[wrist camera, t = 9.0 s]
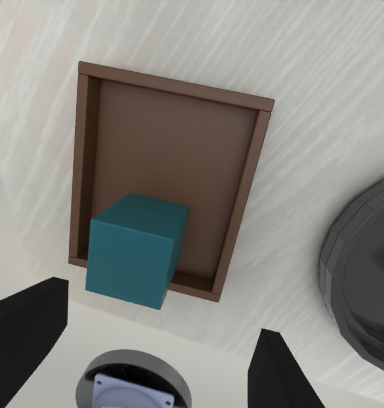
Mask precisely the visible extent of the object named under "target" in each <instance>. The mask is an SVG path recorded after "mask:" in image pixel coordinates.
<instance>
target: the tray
mask: <svg viewBox="0 0 384 408" xmlns="http://www.w3.org/2000/svg"><path fill="white" fill-rule="evenodd" d="M78 73H79V74H78V86H77V105H76V125H75V144H74V163H73V183H72V202H71V222H70V241H69V260H68V263H69V264H73V265H76V266H80V267H84V268H87V263H88V250H89V237H90V224H91V219H92V218H94V217H95V216H97V215H98V214H100V213H101V212H103V211H104V210H106V209H107V208H109V207H110V206H111V205H113V204H114V203H116V202H117V201H119V200H120V199H122V198H123V197H125V196H126V195H128V194H129V193H133V194H138V195H142V196H146V197H150V198H155V199H159V200H163V201H167V202H172V203H176V204H180V205H184V206H189V207H190V210H189V215H188V220H187V225H186V230H185V234H184V239H183V244H182V249H181V254H180V259H179V262H178V265H177V267H176V270H175V273H174V275H173V278H172V281H171V283H170V286H169V288H168V290H172V291H176V292H180V293H183V294H187V295H191V296H195V297H199V298H203V299H206V300H210V301H214V302H219V300H220V296H221V293H222V289H223V285H224V282H225V278H226V275H227V271H228V267H229V264H230V260H231V257H232V253H233V249H234V246H235V242H236V239H237V235H238V231H239V228H240V224H241V221H242V217H243V213H244V210H245V206H246V203H247V199H248V195H249V192H250V188H251V185H252V181H253V177H254V174H255V170H256V167H257V163H258V159H259V156H260V152H261V149H262V145H263V141H264V138H265V134H266V131H267V127H268V123H269V120H270V116H271V112H272V109H273V105H274V102H275V100H274V99H270V98H264V97H259V96H254V95H249V94H244V93H239V92H234V91H229V90H224V89H219V88H214V87H209V86H204V85H199V84H194V83H189V82H184V81H179V80H173V79H168V78H163V77H158V76H153V75H148V74H143V73H138V72H133V71H128V70H123V69H118V68H113V67H108V66H103V65H98V64H93V63H88V62H82V61H79V65H78Z"/></svg>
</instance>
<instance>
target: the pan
mask: <svg viewBox="0 0 384 408" xmlns="http://www.w3.org/2000/svg"><path fill="white" fill-rule="evenodd" d="M319 285H320V289H321V292H322V295H323V297H324V300H325V303H326V305H327V308H328V310H329V312H330V314H331V316H332V318H333V320H334V322H335V324H336V326H337V328H338V330H339V332H340V334H341V335H342V336H343V337H344V339H345V340H346V341H347V342H348V343H349V344H350V345H351V346H352V348H353V349H354V350H355V351H356V352H357V353H358V354H359V355H360V356H361V357H362V358H363V359H365V360H366V361H368V362H370V363H371V364H373V365H375V366H377V367H378V368H380V369H382V370H384V180H383V181H381V182H380V183H378V184H377V185H375V186H374V187H372V188H371V189H370V190H368V191H367V192H365V193H364V194H362V195H361V196H359V197H358V198H357V199H355V200H354V201H353V202H352V203H351V205H350V206H349V207H348V208H347V209H346V211H345V212H344V213H343V214H342V215H341V217H340V218H339V219H338V220H337V221H336V223H335V224H334V225H333V226H332V228H331V231H330V233H329V236H328V238H327V241H326V243H325V246H324V248H323V251H322V253H321V256H320V276H319Z"/></svg>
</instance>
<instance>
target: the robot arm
mask: <svg viewBox="0 0 384 408" xmlns="http://www.w3.org/2000/svg"><path fill="white" fill-rule="evenodd" d="M68 285H69V281H68V280H64V279H60V278H56V277H52V278H49V279H47V280H44V281H42V282H40V283H38V284H36V285H33V286H31V287H29V288H27V289H25V290H23V291H20V292H18V293H16V294H14V295H11V296H9V297H7V298H5V299H3V300H0V408H5V407H6V406H7V404H8V403H9V402H10V401H11V399H12V398H13V397H14V396H15V394H16V393H17V392H18V391H19V389H20V388H21V387H22V386H23V385H24V383H25V382H26V381H27V380H28V378H29V377H30V376H31V375H32V374H33V372H34V371H35V370H36V369H37V367H38V366H39V365H40V364H41V362H42V361H43V360H44V359H45V357H46V356H47V355H48V353H49V352H50V351H51V349H52V348H53V346H54V345H55V343H56V342H57V340H58V339H59V337H60V335H61V334H62V332H63V331H64V329H65V327H66V326H67V318H68ZM174 398H175V396H174V394H173V393H171V392H167V391H164V390H160V389H157V388H154V387H150V386H147V385H143V384H140V383H136V382H133V381H130V380H126V379H123V378H119V377H116V376H113V375H109V374H106V373H102V372H98V373H97V374H96V376H95V381H94V391H93V400H92V408H172V407H173V403H174ZM248 408H325V407H324V405H323V404H322V402H321V400H320V399H319V397H318V396H317V394H316V393H315V391H314V389H313V388H312V386H311V385H310V383H309V381H308V380H307V378H306V377H305V375H304V373H303V372H302V370H301V368H300V367H299V365H298V363H297V362H296V360H295V358H294V356H293V355H292V353H291V351H290V350H289V348H288V346H287V344H286V343H285V341H284V339H283V338H282V336H281V334H280V333H279V332H275V331H271V330H267V329H263V328H262V329H261V332H260V336H259V339H258V342H257V345H256V348H255V351H254V354H253V357H252V360H251V363H250V366H249V369H248Z"/></svg>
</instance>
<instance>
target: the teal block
mask: <svg viewBox="0 0 384 408" xmlns="http://www.w3.org/2000/svg"><path fill="white" fill-rule="evenodd" d="M189 210H190V207H189V206H184V205H180V204H176V203H172V202H167V201H163V200H159V199H155V198H150V197H146V196H142V195H138V194H133V193H129V194H128V195H126V196H125V197H123V198H122V199H120V200H119V201H117V202H116V203H114V204H113V205H111V206H110V207H109V208H107V209H106V210H104V211H103V212H101V213H100V214H98V215H97V216H95V217H94V218H92V219H91V224H90V237H89V250H88V263H87V276H86V288H85V289H86V290H87V291H91V292H94V293H98V294H102V295H105V296H109V297H113V298H117V299H120V300H124V301H128V302H132V303H135V304H139V305H143V306H146V307H150V308H154V309H158V310H160V309H161V307H162V304H163V302H164V299H165V296H166V294H167V291H168V288H169V286H170V283H171V281H172V278H173V275H174V273H175V270H176V267H177V265H178V262H179V259H180V254H181V249H182V244H183V239H184V234H185V230H186V225H187V220H188V215H189Z"/></svg>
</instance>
